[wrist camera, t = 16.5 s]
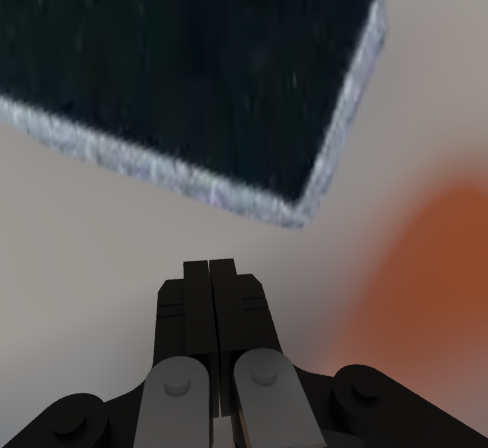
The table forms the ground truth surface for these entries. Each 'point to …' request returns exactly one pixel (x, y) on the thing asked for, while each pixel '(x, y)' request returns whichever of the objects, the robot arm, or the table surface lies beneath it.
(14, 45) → the table surface
